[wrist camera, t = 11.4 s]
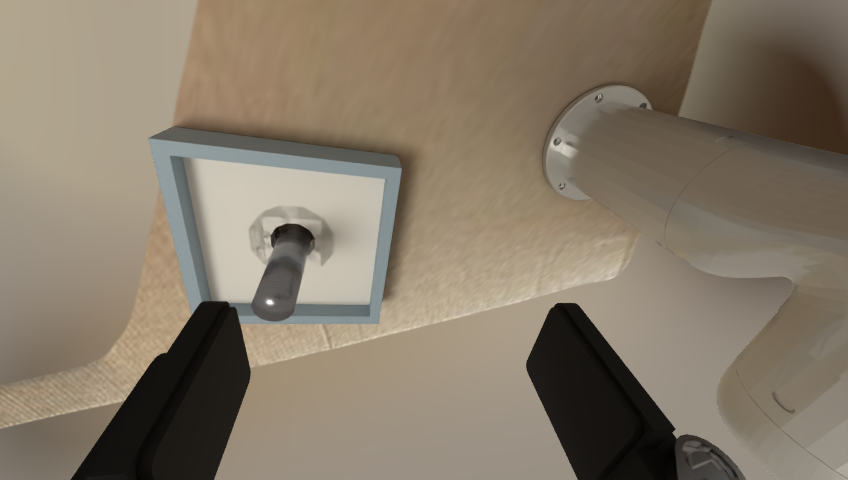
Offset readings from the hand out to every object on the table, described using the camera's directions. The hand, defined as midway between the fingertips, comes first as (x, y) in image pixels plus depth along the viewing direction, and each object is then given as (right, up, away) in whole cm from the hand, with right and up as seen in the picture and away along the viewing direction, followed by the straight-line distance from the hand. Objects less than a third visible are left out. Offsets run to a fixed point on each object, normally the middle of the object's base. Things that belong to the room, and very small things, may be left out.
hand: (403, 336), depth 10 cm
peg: (-13, +4, +26) cm, 29 cm away
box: (-14, +4, +26) cm, 29 cm away
